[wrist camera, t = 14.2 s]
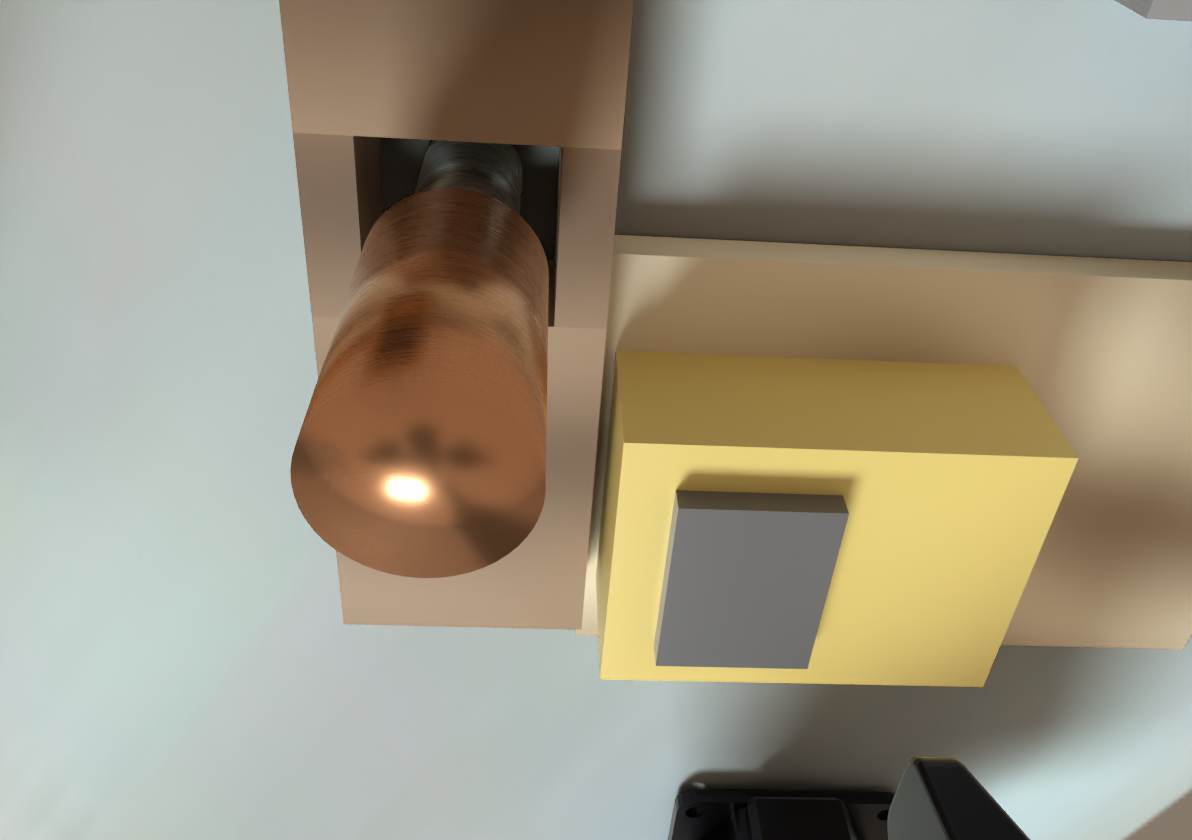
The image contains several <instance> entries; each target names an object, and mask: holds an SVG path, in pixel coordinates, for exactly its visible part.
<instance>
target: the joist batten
mask: <svg viewBox="0 0 1192 840" xmlns="http://www.w3.org/2000/svg"><path fill="white" fill-rule="evenodd" d="M279 3H280V13H281V23H282V32H283V42H284V52H285V61H286V71H287V81H288V90H289V100H290V110H291V119H292V129H293V138H294V148H295V158H296V167H297V177H298V187H299V196H300V206H301V216H302V225H303V235H304V245H305V254H306V264H307V273H308V283H309V293H310V302H311V312H312V322H313V331H314V341H315V351H316V360H317V370H318V378H319V375H320V372H321V369H322V366H323V364H324V361H325V358H326V355H327V352H328V349H329V346H330V343H331V340H332V337H333V334H334V331H335V328H336V325H337V322H338V320H339V317H340V314H341V311H342V308H343V305H344V302H345V299H346V296H347V293H348V290H349V287H350V284H351V281H352V278H353V276H354V273H355V270H356V267H357V264H358V261H359V258H360V255H361V252H362V249H363V246H364V243H365V240H366V238H367V236H368V234H369V232H370V230H371V228H372V227H373V225H374V224H375V222H376V221H377V220H378V219H379V218H380V216H381V215H382V214H383V200H382V181H381V163H380V145H379V137H385V138H404V139H423V140H442V141H461V142H479V143H498V144H517V145H536V146H555V147H560V157H559V178H558V198H557V219H556V240H555V261H549V260H547V264H548V273H549V295H548V369H547V443H546V493H545V500H544V505H543V508H542V511H541V515H540V517H539V519H538V521H537V523H536V525H535V527H534V528H533V529H532V531H531V532H530V534H529V535H528V537H527V538H526V539H525V540H524V541H523V542H522V543H521V544H520V545H519V546H518V547H517V548H516V549H514V550H513V551H512V552H511V553H509V554H508V555H507V556H505V557H503V558H502V559H500V560H498V561H497V562H495V563H493V564H491V565H488V566H486V567H484V568H482V569H479V570H476V571H473V572H470V573H465V574H461V575H456V576H450V577H442V578H414V577H405V576H399V575H393V574H389V573H385V572H381V571H378V570H375V569H372V568H369V567H367V566H364V565H362V564H360V563H358V562H356V561H354V560H352V559H349V558H348V557H346V556H345V555H343V554H341V553H340V552H338V551H337V550H336V553H337V563H338V572H339V582H340V592H341V601H342V611H343V621H344V624H366V625H408V626H451V627H493V628H536V629H579V630H582V618H583V606H584V594H585V582H586V570H587V558H588V546H589V534H590V522H591V510H592V498H593V486H594V474H595V462H596V450H597V438H598V426H599V414H600V402H601V390H602V378H603V366H604V354H605V342H606V330H607V318H608V306H609V294H610V282H611V270H612V258H613V246H614V233H615V221H616V209H617V197H618V185H619V173H620V161H621V149H622V137H623V125H624V113H625V101H626V89H627V77H628V65H629V53H630V41H631V29H632V17H633V5H634V0H279Z"/></svg>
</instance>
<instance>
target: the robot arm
mask: <svg viewBox="0 0 1192 840" xmlns="http://www.w3.org/2000/svg"><path fill="white" fill-rule="evenodd" d="M668 840H1030V839H1029V838H1028V837H1027V836H1026V834H1025V833H1024V832H1023V831H1022V830H1021V829H1020V828H1019V827H1018V825H1017V824H1016V823H1015V822H1014V821H1013V820H1012V819H1011V818H1010V817H1009V815H1008V814H1007V813H1006V812H1005V811H1004V810H1003V809H1002V808H1001V806H1000V805H999V804H998V803H997V802H996V801H995V800H994V799H993V797H992V796H991V795H990V794H989V793H988V792H987V791H986V790H985V789H984V787H983V786H982V785H981V784H980V783H979V782H978V781H977V780H976V778H975V777H974V776H973V775H972V774H971V773H970V772H969V771H968V769H967V768H966V767H965V766H964V765H963V764H961V763H960V762H959V761H957V760H955V759H953V758H949V757H914V758H912V759H911V760H910V761H909V762H908V763H907V765H906V767H905V769H904V772H903V774H902V777H901V780H900V782H899V785H898V788H897V790H896V793H895V794H893V793H889V792H844V791H771V790H699V789H694V790H687V791H684V792H682V793H680V794H679V795H678V796H677V797H676V799H675V804H674V809H673V815H672V820H671V826H670V831H669V837H668Z"/></svg>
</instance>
